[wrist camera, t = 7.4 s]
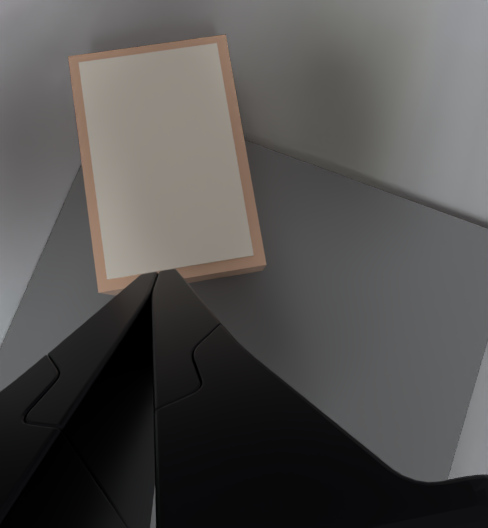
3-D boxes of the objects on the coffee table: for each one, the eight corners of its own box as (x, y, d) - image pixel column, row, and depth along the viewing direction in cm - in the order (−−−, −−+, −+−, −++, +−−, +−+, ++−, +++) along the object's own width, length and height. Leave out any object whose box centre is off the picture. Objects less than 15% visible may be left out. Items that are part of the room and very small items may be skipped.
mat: (507, 241, 18) (516, 239, 17) (361, 740, 15) (367, 757, 15) (117, 98, 18) (113, 91, 18) (-87, 564, 16) (-99, 574, 15)
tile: (266, 264, 15) (225, 31, 16) (97, 292, 14) (66, 53, 16) (262, 270, 17) (226, 65, 18) (114, 295, 17) (86, 85, 18)
